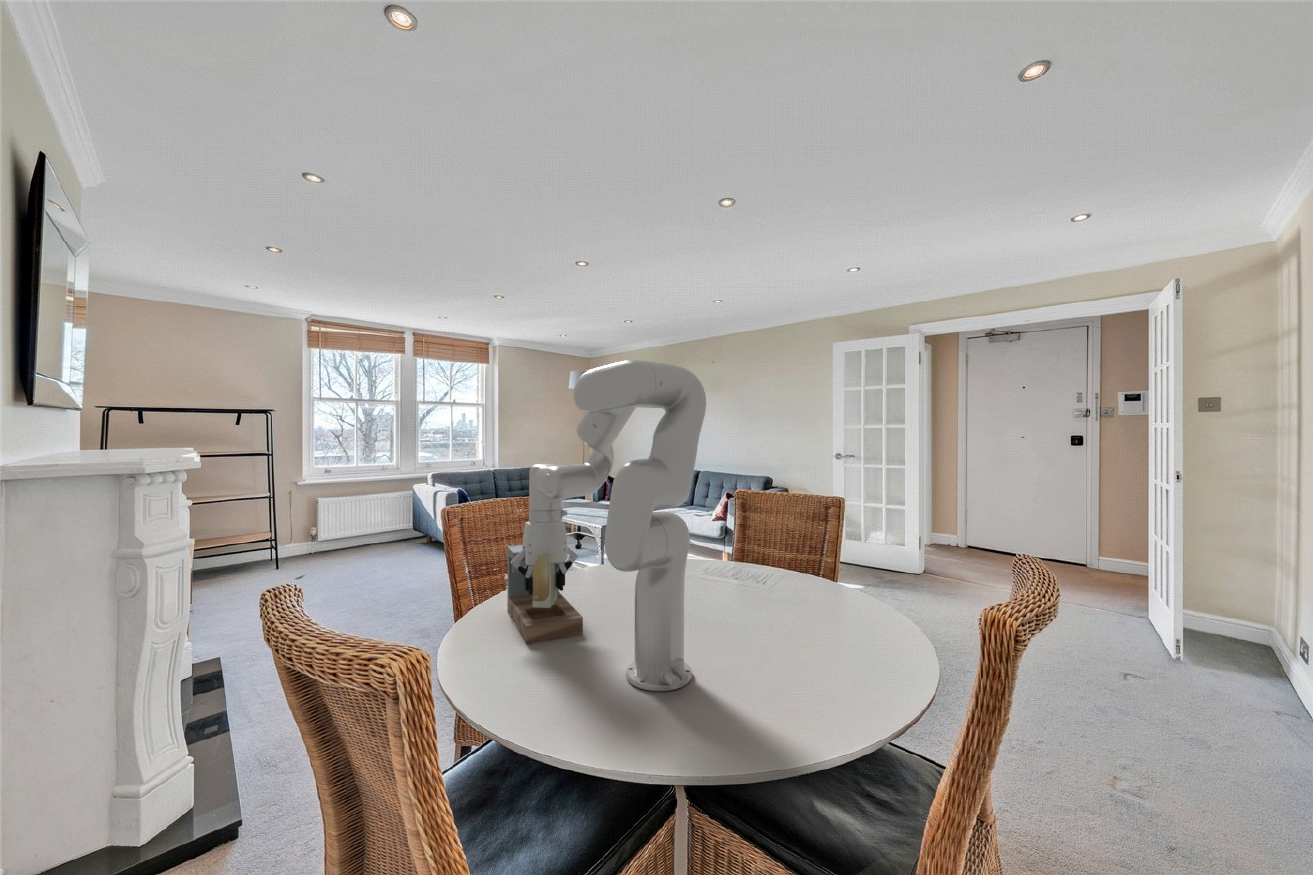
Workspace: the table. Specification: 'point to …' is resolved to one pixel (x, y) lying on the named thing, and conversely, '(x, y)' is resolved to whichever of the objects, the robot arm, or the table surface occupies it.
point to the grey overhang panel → (516, 575)
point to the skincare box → (544, 582)
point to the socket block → (545, 619)
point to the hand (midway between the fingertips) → (545, 590)
